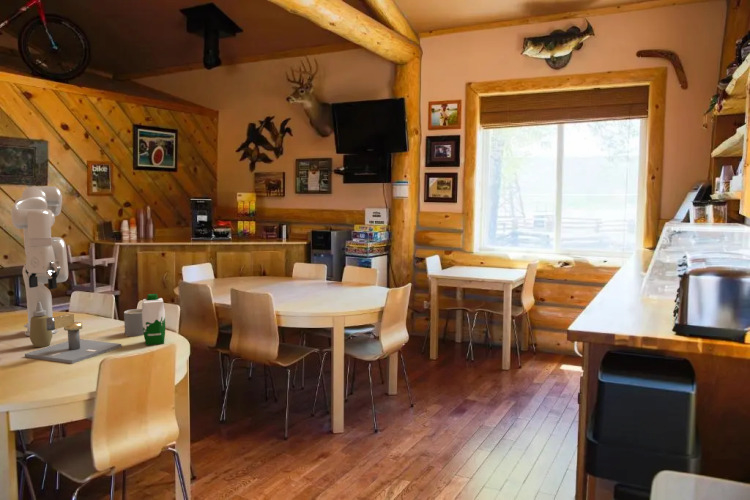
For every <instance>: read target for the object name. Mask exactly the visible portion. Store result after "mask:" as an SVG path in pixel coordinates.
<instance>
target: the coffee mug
mask: <svg viewBox="0 0 750 500" xmlns="http://www.w3.org/2000/svg"><path fill="white" fill-rule="evenodd" d="M123 319H124V320H123V322H124V335H125V336H126V335H127V337H140V336H144V334H143V321H142V308H134V309H127V310H125V311H124V312H123Z"/></svg>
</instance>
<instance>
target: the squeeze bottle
mask: <svg viewBox="0 0 750 500" xmlns="http://www.w3.org/2000/svg"><path fill="white" fill-rule="evenodd" d="M46 318H49V316H47V315H46V310H43V308H42V305H41V302H37V307H36V311H34V312H33V317H32V318H31V322H30V336H29V340H30V342H31V345H32V346H33V348H42V347H43V348H45V347H49V346H51V345H50V344H51V342H52V338H53V334H52V331H51V330H47V326H46Z"/></svg>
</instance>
